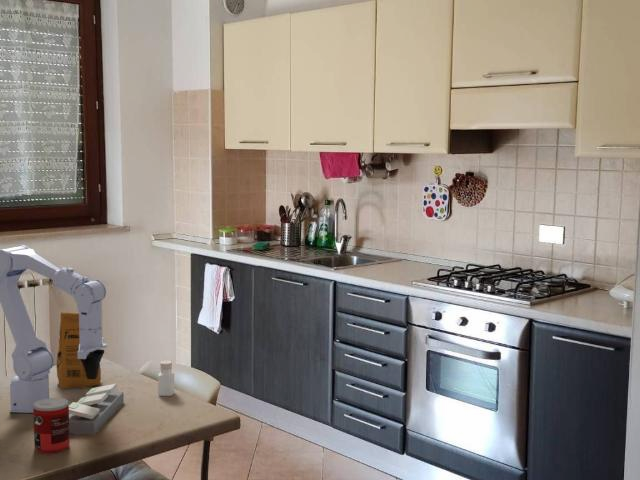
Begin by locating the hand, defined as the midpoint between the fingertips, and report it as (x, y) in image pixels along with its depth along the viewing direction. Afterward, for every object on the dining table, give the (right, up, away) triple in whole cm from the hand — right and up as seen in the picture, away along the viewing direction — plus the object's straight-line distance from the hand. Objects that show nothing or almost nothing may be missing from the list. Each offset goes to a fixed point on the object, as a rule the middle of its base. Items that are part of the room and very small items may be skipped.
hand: (92, 378), depth 207 cm
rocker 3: (-1, -8, -7) cm, 10 cm away
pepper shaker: (+15, -8, +20) cm, 27 cm away
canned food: (-4, -13, -19) cm, 24 cm away
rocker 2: (0, -7, +1) cm, 7 cm away
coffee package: (-12, -7, +29) cm, 32 cm away
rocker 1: (0, -6, +9) cm, 10 cm away
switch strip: (0, -10, +3) cm, 11 cm away
